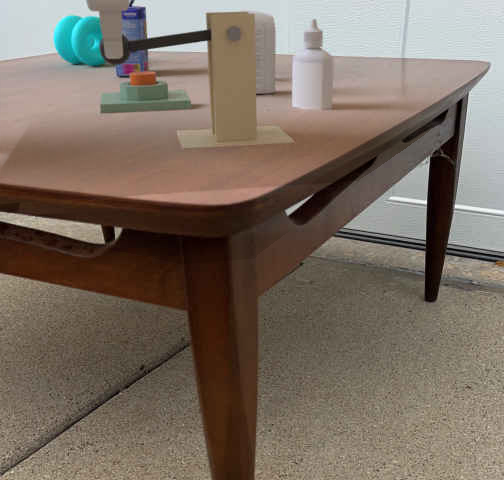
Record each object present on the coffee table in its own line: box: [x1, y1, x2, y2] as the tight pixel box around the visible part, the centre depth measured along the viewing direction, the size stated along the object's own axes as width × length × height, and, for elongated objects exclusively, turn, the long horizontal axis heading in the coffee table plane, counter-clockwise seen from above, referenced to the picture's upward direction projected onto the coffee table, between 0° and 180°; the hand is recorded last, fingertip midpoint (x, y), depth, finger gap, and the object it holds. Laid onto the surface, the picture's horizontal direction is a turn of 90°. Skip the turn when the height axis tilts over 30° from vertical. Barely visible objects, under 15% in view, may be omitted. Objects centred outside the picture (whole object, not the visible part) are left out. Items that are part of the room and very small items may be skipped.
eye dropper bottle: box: [291, 18, 334, 111], centre depth 90 cm, size 4×6×12 cm
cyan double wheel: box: [53, 14, 107, 67], centre depth 149 cm, size 10×10×10 cm
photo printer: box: [231, 10, 277, 95], centre depth 107 cm, size 10×4×12 cm, turn 105°
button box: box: [99, 79, 192, 114], centre depth 96 cm, size 12×10×4 cm
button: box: [129, 70, 157, 85], centre depth 95 cm, size 4×4×2 cm
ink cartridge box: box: [115, 0, 150, 78], centre depth 132 cm, size 10×6×14 cm, turn 1°
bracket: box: [176, 11, 296, 150], centre depth 74 cm, size 12×9×14 cm
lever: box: [99, 29, 211, 66], centre depth 71 cm, size 15×3×3 cm, turn 100°
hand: (114, 55), depth 71 cm, fingers closed on lever, 3 cm apart
